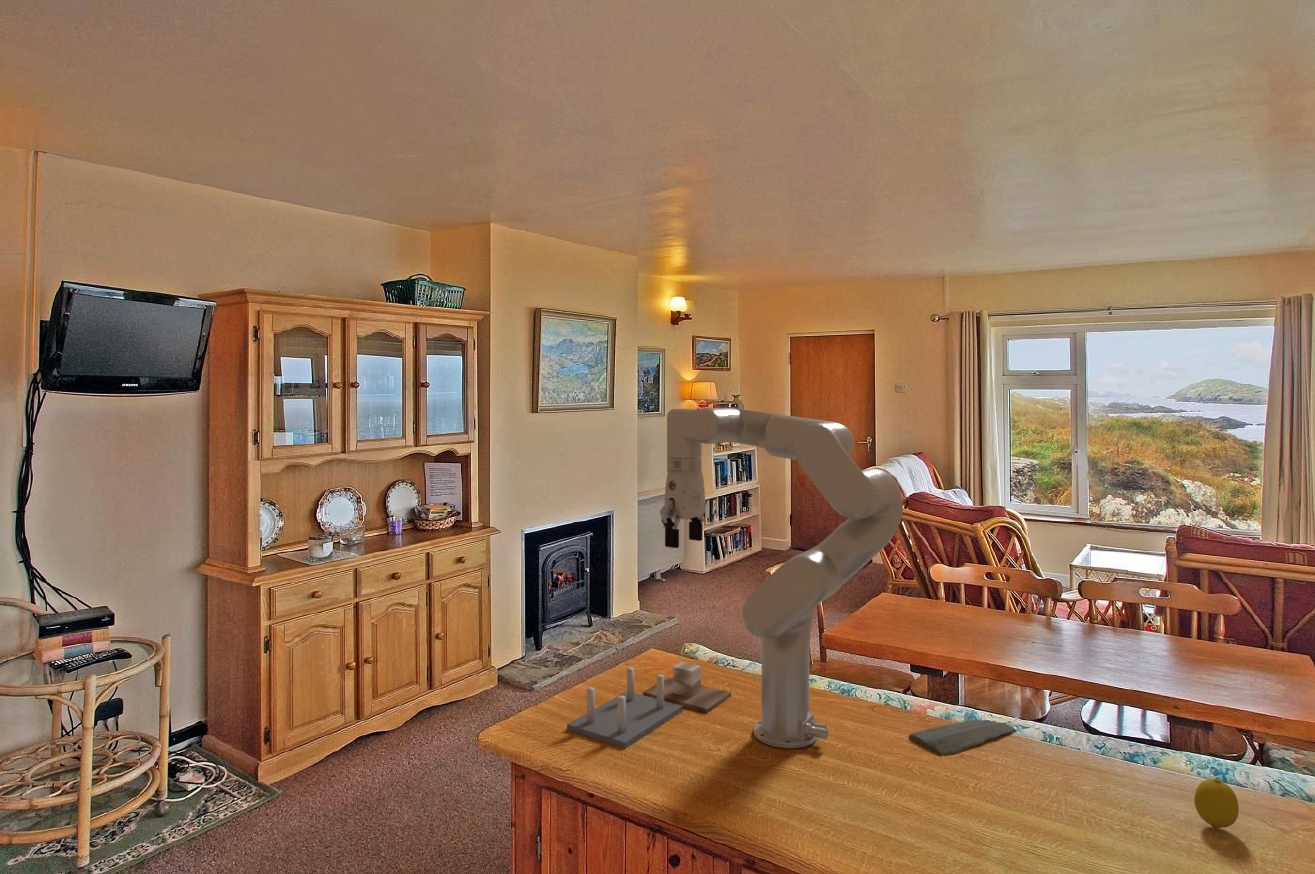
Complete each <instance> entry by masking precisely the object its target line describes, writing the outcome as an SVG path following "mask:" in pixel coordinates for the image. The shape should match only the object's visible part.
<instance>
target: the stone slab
mask: <svg viewBox="0 0 1315 874" xmlns="http://www.w3.org/2000/svg"><path fill="white" fill-rule="evenodd" d="M1016 731H1017V728H1014V727H1013V726H1012V725H1010V724H1008V723H1007V722H998V721H992V720H991V721H990V720H980V719H972V720H968V721H967V720H966V721H962V722H956V723H949V724H945V725H940V726H936V727H931V728H927V729H922V730H921V729H920V730H919V731H914V732H912V733H910V734H909V735H908V738H909V740H911V741H913V742H915V743H916V744H918V743H919V745H920V744H921V745H920V746H922V745H923V747H924V748H926V749H928V750H930V751H932V752H934V753H936V754H937V755H939V756H941V757H943V756H944V757H945V756H947V757H948V756H956V755H958V754H960V753H962V752H963V751H966V750H967V749H969V748H970V749H971V748H972V747H974V746H977V745H981V744H983V743H985V742H986V741H989V740H992V739H995V738H997V737H1000V736H1002V735H1008V734H1012V733H1013V734H1014V732H1016Z"/></svg>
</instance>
